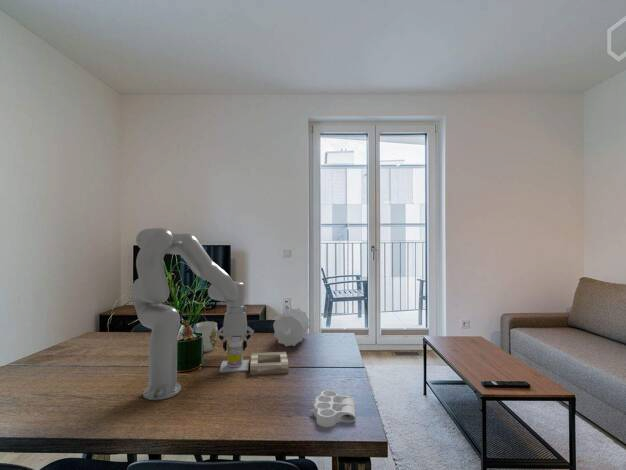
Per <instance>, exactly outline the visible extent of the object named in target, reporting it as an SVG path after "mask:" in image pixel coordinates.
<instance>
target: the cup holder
mask: <svg viewBox="0 0 626 470" xmlns="http://www.w3.org/2000/svg"><path fill="white" fill-rule="evenodd" d="M289 365H290V364H289V360H288V354H287V352H286V351H276V352H275V351H273V352H272V351H271V352H253V353H250V362H249V375H251V376H254V375H268V374H270V375H272V374H273V375H274V374H287V373H289V369H290V368H289V367H290V366H289Z"/></svg>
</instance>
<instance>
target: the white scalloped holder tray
mask: <svg viewBox="0 0 626 470" xmlns="http://www.w3.org/2000/svg"><path fill="white" fill-rule="evenodd" d="M311 404H313V408H312V409H310V410H309V412H310V413H312V414H313V417H315V418H316V424H317V425H318V426H320V427H324V428H330V427H334V426H336V424H337V423H349V424H350V423H354V422H355V421H356V399H355V398H353V397H352V396H350V395H349V396H348V395H343V394H342V395H341V394H338V392H336V391H334V390H329V389H328V390H323V391H321V392H320V395H317V396H316V398H315V399H314V401H311Z"/></svg>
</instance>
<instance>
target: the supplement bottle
mask: <svg viewBox="0 0 626 470" xmlns="http://www.w3.org/2000/svg"><path fill="white" fill-rule="evenodd" d="M226 359H227V360H226V361H227V365H228V366H229V367H239V366H241V365H242V364H243V360H244V350H243V340H242V336H230V341H229V342H227V357H226Z"/></svg>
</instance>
